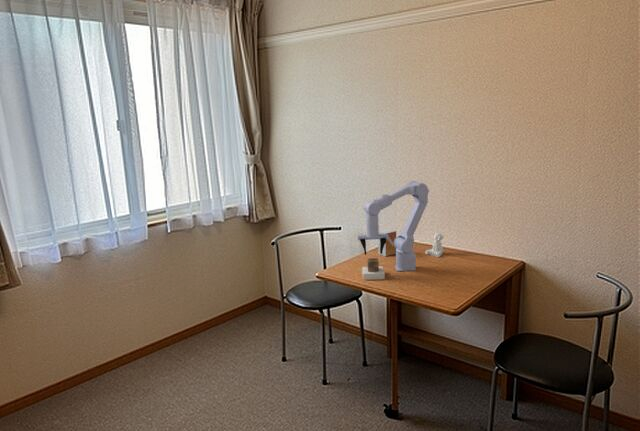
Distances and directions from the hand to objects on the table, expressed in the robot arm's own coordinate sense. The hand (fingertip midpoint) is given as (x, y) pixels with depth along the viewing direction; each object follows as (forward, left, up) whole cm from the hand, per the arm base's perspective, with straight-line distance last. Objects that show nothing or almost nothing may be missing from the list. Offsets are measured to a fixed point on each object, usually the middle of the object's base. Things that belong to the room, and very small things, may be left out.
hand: (373, 253), depth 228 cm
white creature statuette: (-36, -26, -10) cm, 46 cm away
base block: (+1, +4, -10) cm, 11 cm away
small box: (-10, -30, -10) cm, 33 cm away
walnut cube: (+1, +4, -7) cm, 8 cm away
